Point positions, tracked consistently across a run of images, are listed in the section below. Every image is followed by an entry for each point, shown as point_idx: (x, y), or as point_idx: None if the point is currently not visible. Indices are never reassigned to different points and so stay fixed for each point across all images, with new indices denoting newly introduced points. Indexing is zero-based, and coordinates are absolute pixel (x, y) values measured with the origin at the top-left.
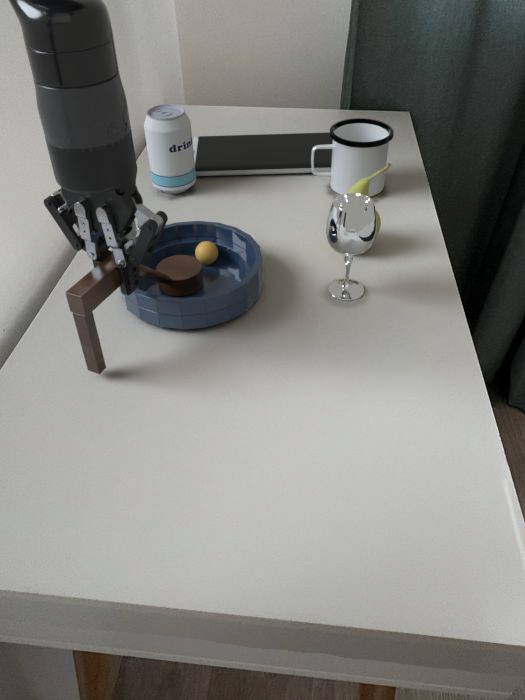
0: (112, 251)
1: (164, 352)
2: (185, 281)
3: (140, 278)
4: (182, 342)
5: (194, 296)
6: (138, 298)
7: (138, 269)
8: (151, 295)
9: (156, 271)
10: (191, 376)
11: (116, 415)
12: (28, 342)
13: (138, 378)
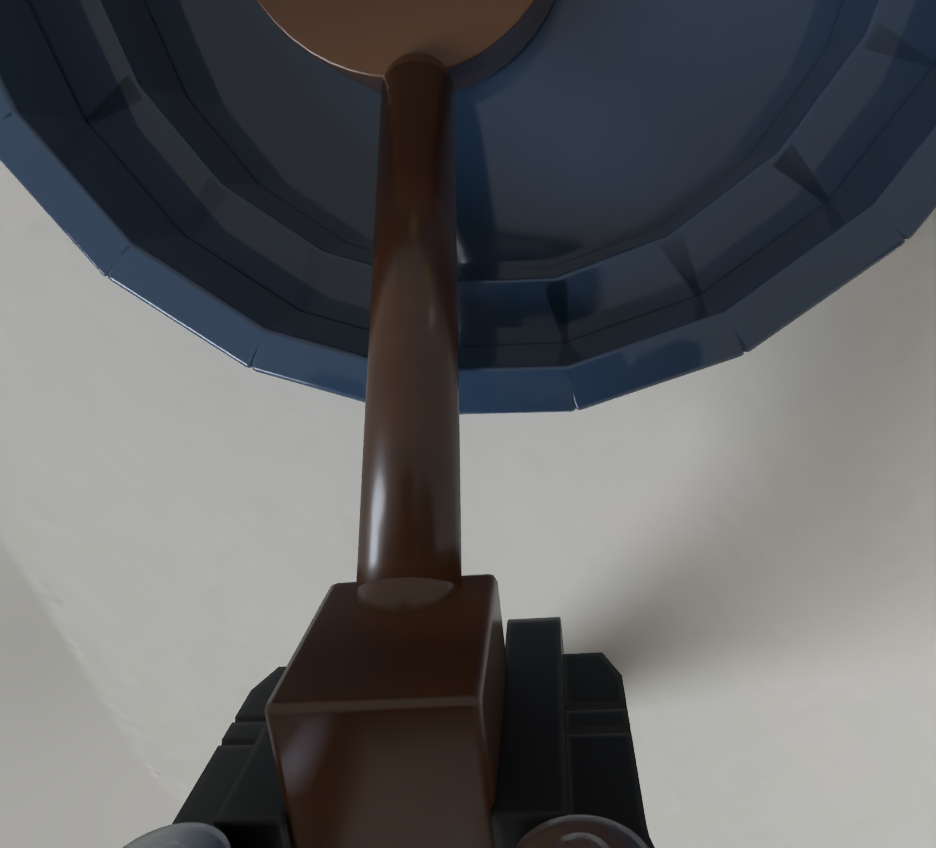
0: (280, 822)
1: (681, 474)
2: (534, 4)
3: (624, 694)
4: (723, 372)
5: (578, 7)
6: None
7: (635, 769)
8: (518, 386)
9: (436, 226)
10: (896, 546)
11: (720, 831)
12: (110, 686)
13: (675, 655)
